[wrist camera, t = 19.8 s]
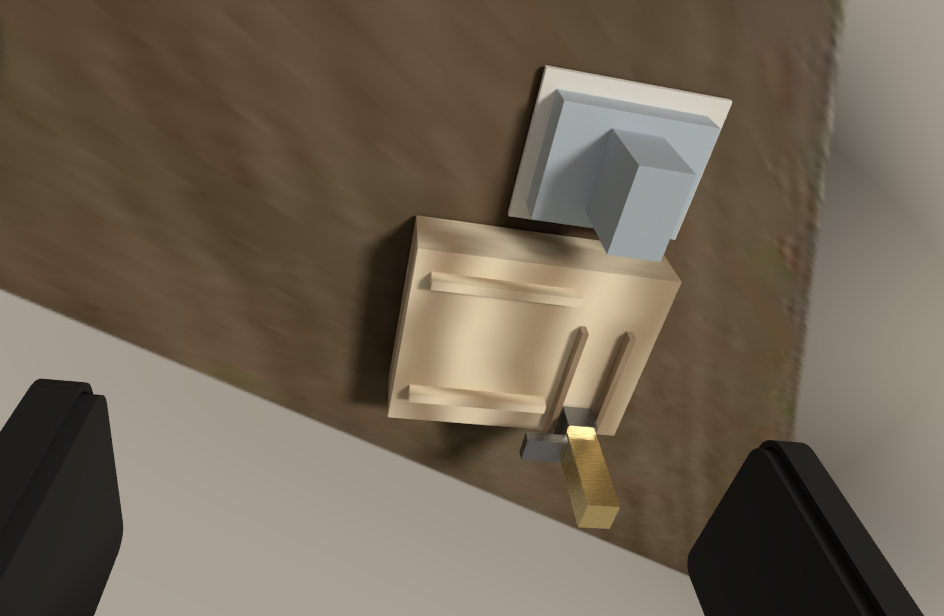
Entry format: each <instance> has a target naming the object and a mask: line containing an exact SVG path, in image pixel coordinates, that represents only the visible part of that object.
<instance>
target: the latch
mask: <svg viewBox="0 0 944 616" xmlns="http://www.w3.org/2000/svg"><path fill="white" fill-rule="evenodd" d="M597 429H598V427H597V424H596V421H595V418H594V415H593V412H592V409H586V408H575V407H564V406H563V409H562V412H561V415H560V417H559V420H558V423H557V425H556V428H555V431H554V433H553V434H543V433H531V432H526V434H525V437H524V440H523V443H522V446H521V449H520V456H521V460H534V461H547V462H561V463H562V467H563V471H564V474H565V478H566V482H567V486H568V490H569V494H570V498H571V501H572V505H573V509H574V513H575V517H576V521H577V525H578V527H587V528H606V529H610V527H611V525H612V522H613V520H614V518H615V516H616V514H617V512H618V510H619V508H620V506H619V503H618V500H617V497H616V494H615V491H614V488H613V485H612V482H611V478H610V475H609V472H608V469H607V466H606V463H605V460H604V457H603V454H602V451H601V448H600V445H599V442H598V439H597V436H596V431H597Z"/></svg>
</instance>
